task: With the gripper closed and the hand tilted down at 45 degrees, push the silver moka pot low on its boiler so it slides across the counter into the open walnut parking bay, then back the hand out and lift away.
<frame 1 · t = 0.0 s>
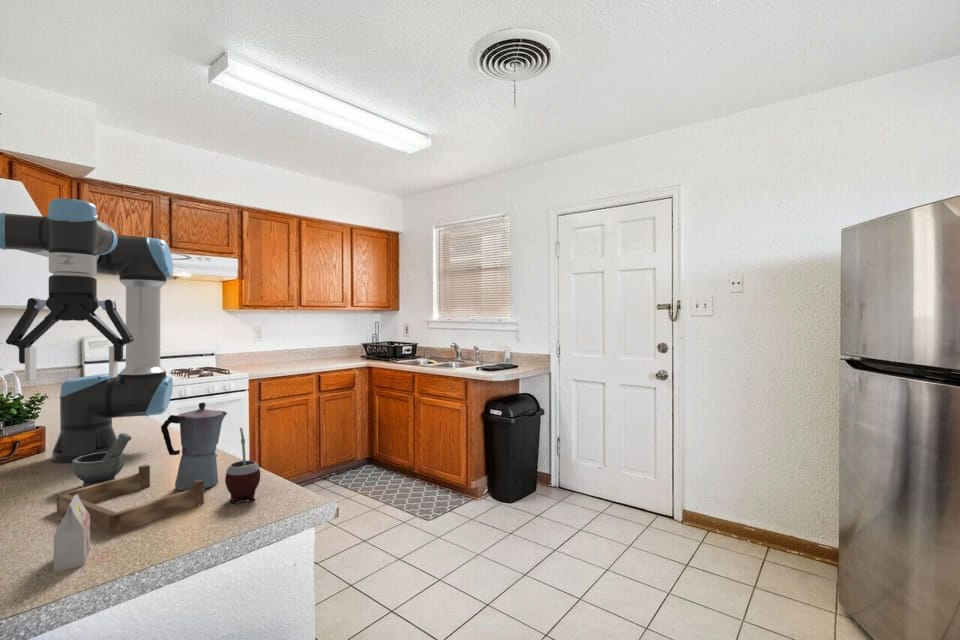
hand: (73, 378, 97), 28 cm above the countertop, tool pointing down, fingers open, 13 cm apart
mate gourd: (242, 499, 106), on the countertop
bay: (131, 506, 101), on the countertop
moka pot: (196, 487, 113), on the countertop
mortar and pestle: (102, 485, 114), on the countertop
white paper packet: (72, 561, 79), on the countertop
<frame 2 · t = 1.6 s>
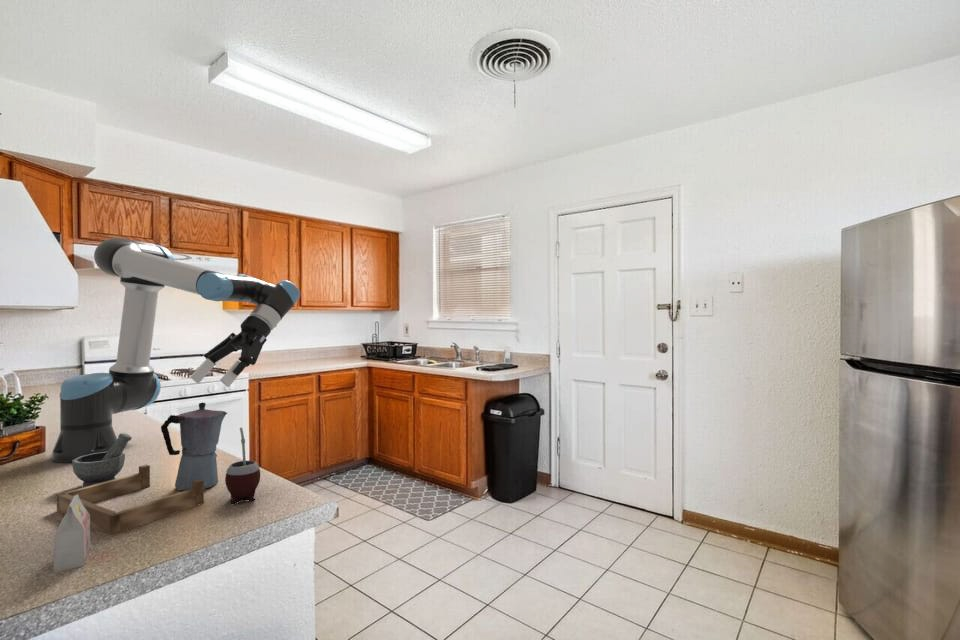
hand: (208, 382, 123), 24 cm above the countertop, tool tilted 45°, fingers open, 13 cm apart
nothing on the countertop moved.
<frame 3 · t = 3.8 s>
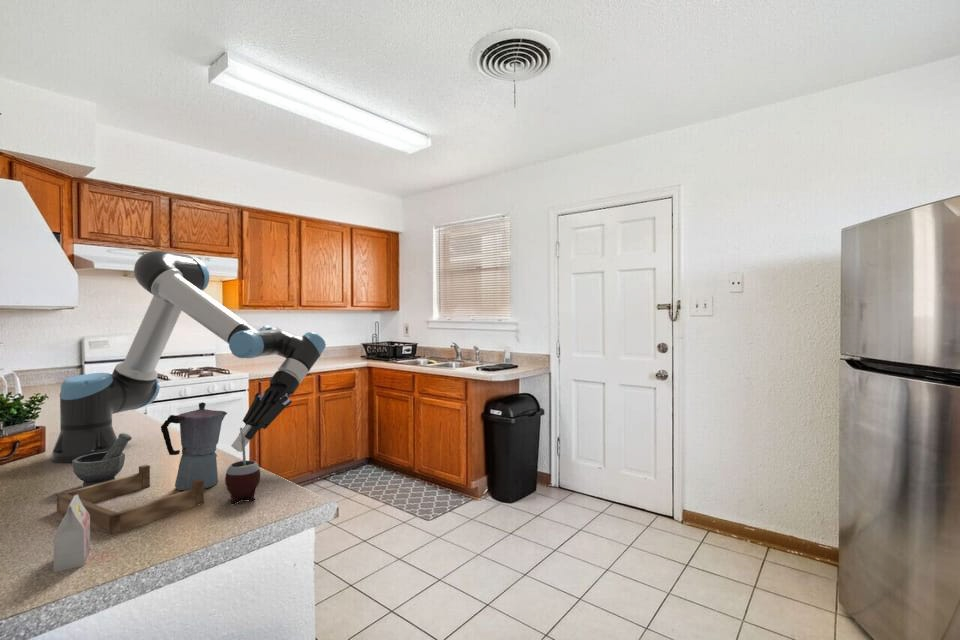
hand: (236, 448, 122), 6 cm above the countertop, tool tilted 45°, fingers closed
nothing on the countertop moved.
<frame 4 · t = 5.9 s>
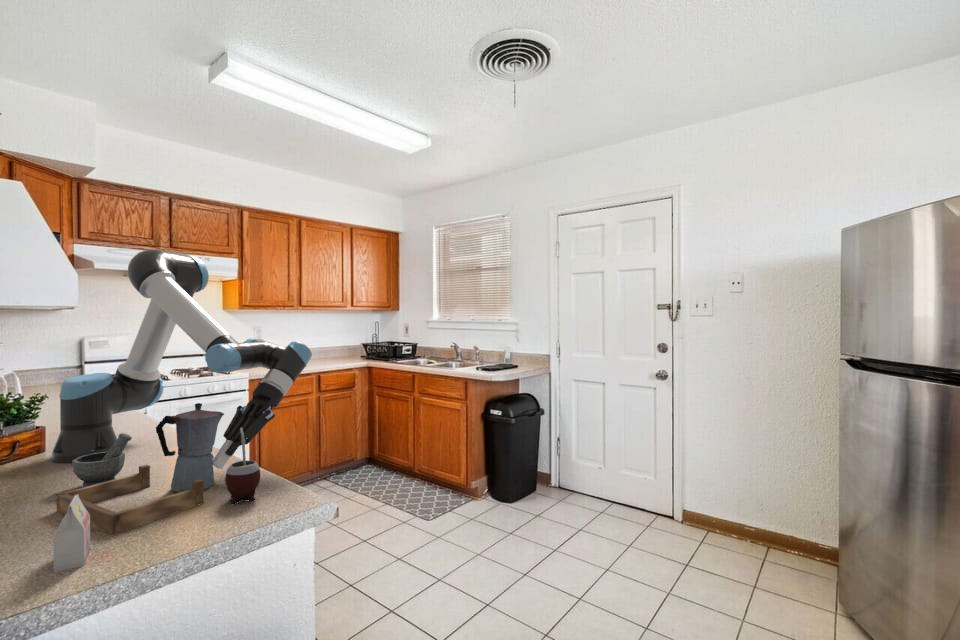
hand: (216, 465, 117), 4 cm above the countertop, tool tilted 45°, fingers closed
moka pot: (192, 488, 112), on the countertop, touching gripper
everything else where it was.
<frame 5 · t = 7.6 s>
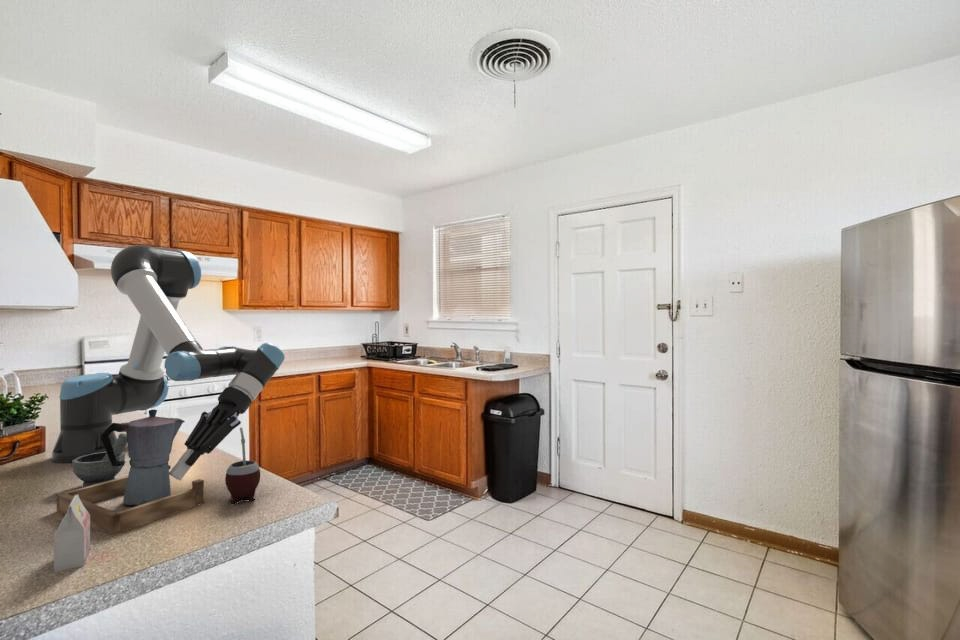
hand: (174, 476, 108), 4 cm above the countertop, tool tilted 45°, fingers closed
moka pot: (146, 501, 104), on the countertop, touching gripper
everything else where it was.
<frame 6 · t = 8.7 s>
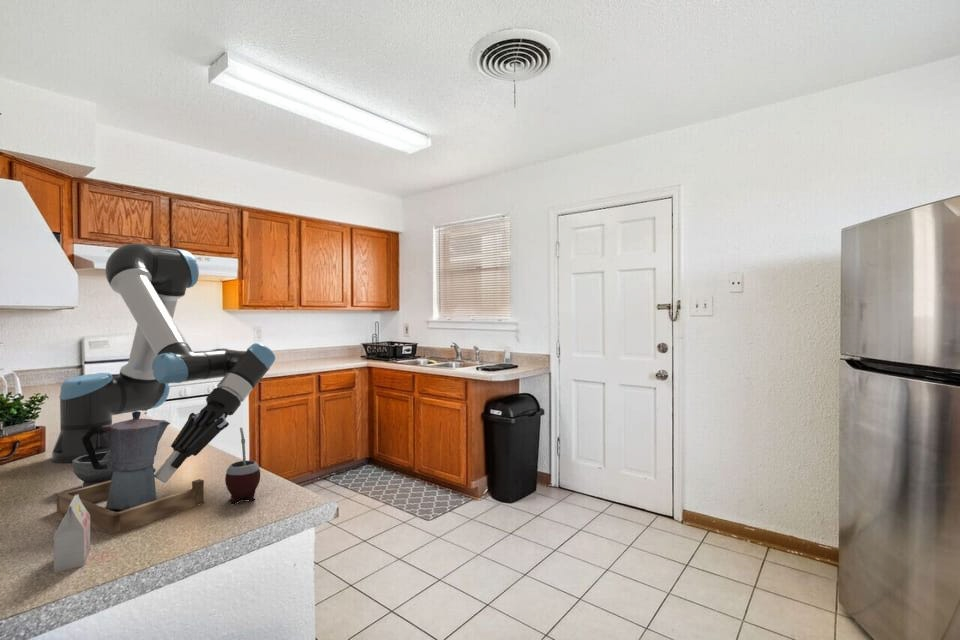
hand: (159, 479, 106), 4 cm above the countertop, tool tilted 45°, fingers closed
moka pot: (130, 504, 102), on the countertop, touching gripper
everything else where it was.
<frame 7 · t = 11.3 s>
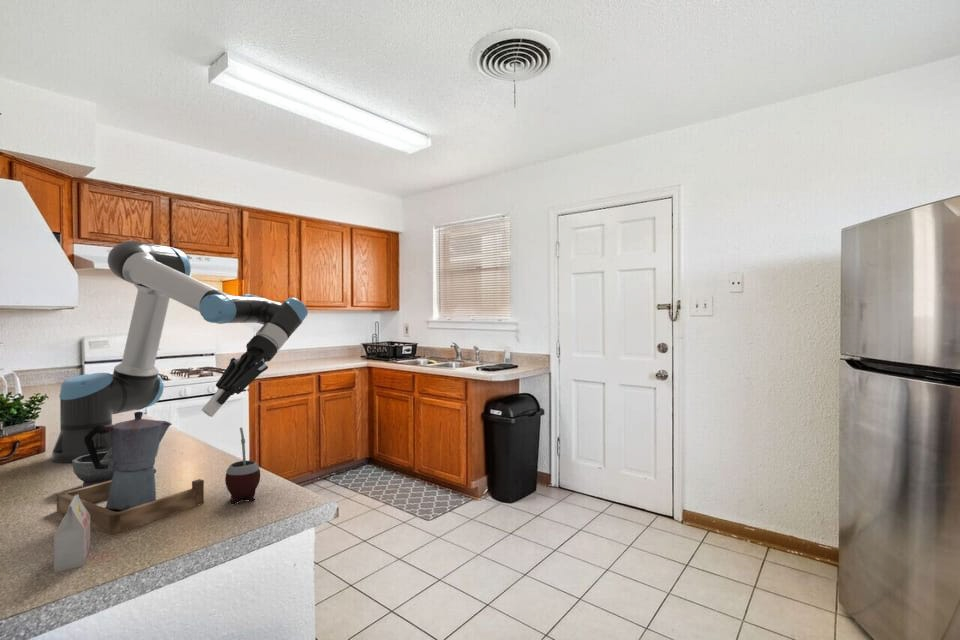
hand: (206, 413, 116), 17 cm above the countertop, tool tilted 45°, fingers closed
moka pot: (130, 505, 102), on the countertop
everything else where it was.
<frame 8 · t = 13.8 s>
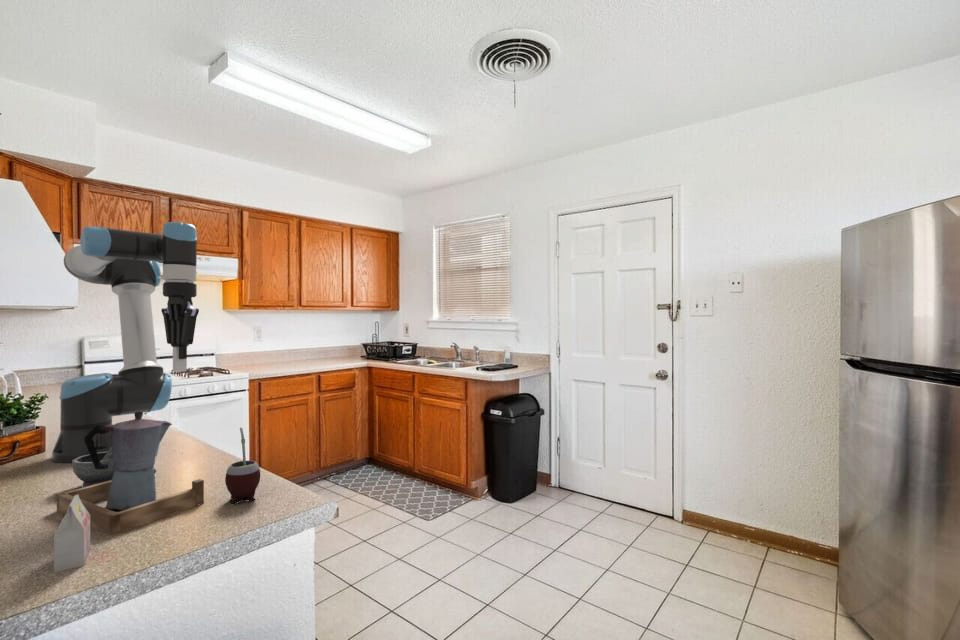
hand: (179, 371, 124), 26 cm above the countertop, tool pointing down, fingers closed
nothing on the countertop moved.
at the end: moka pot 1.9 cm from the bay (horizontally); moka pot tilted 0°; moka pot moved 13.4 cm from its start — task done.
